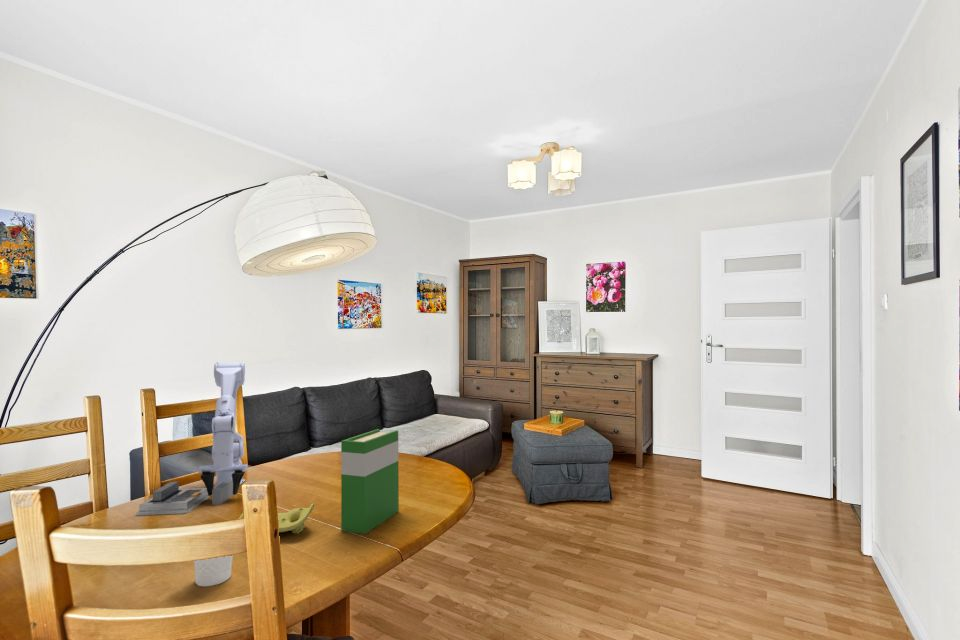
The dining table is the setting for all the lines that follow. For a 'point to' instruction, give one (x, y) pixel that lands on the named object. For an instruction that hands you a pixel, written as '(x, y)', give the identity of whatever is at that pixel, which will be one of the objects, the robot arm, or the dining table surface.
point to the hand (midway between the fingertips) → (223, 494)
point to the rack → (173, 500)
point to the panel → (222, 492)
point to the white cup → (212, 570)
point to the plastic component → (293, 519)
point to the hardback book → (369, 480)
